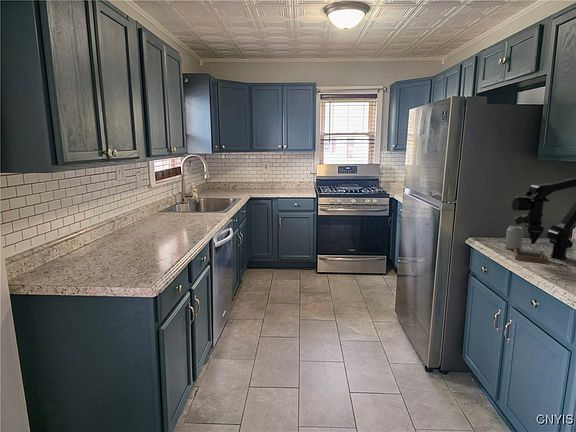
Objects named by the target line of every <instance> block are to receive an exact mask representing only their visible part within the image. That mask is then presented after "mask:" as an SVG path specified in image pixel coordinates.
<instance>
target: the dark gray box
mask: <svg viewBox="0 0 576 432" xmlns="http://www.w3.org/2000/svg"><path fill="white" fill-rule="evenodd" d="M536 250H537V249H527V248H521V249H519V253H518V255H520V256H528V257H536V258H542V256H541V251H542V250H537V251H536Z"/></svg>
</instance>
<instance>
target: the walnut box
mask: <svg viewBox="0 0 576 432" xmlns="http://www.w3.org/2000/svg"><path fill="white" fill-rule="evenodd" d="M535 250H536V251H538V250H537V249H535ZM540 251H541V258H536V257H528V256H520V255H519V248H514V250H513V254H514V259H515V261H516V260H517V261H523V262H524V261H525V262H534V263H540V264H541V263H542V264H547V263H548V258H547V255H546V253H545V252H544V251H543V250H540Z"/></svg>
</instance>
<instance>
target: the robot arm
mask: <svg viewBox="0 0 576 432" xmlns="http://www.w3.org/2000/svg"><path fill="white" fill-rule="evenodd" d="M573 187H575V188H576V176H573V177H569V178H566V179H562V180H556V181H553V182H549V183H534V184H531V185H530V187H529V189H528V190H527V191H526V192H525V193H524V194H523V195H522V196H515V197H514V199H513V200H512V202H511V208H512V210H513V211H514V212H515V211H518V212H519V211H521V212H522V211H525V212H527V213H526V214H522V215H518V216H514V217H513V218H514V222H515V226H519V225H520V224H521V225H522V224H524V226H525V227H526V231H527V233H528V237H529V240H530V243H531V245H535V243H536V242H537V241H538V239H539V238H540V236H541V235H542V234H543V233H544V232H545V231H544V230H545V226H543V222H542V221H543V216H544V205H545V202H546V203H548V202H550V200H549V199H548V198H547V197H548V196H550V195H551V194H553V193H554V192H558V191H561V190H566V189H570V188H573ZM574 225H576V201H575V202H574V204H573V206H572V207H571V208H570V209H569V211H568V212H567V213H566V215H565V216H564V217H563V219H562V220H561V222H560V223H558V224H557V225H556V224H552V225H551V226H550V228H549V229H548V230H547V232H548V233H547V236H546V237H547V240H548V241H549V243H550V244H552V250H551V253H549V256H550V258H552V259H558V260H559V259H560V260H567V261H568V257H567V252H568V249H570V248H572V247H573V245H574V243H573V242H572V241H571V240H570V237H571V232H572V231H571V230H572V228H573V226H574Z"/></svg>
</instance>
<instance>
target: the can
mask: <svg viewBox="0 0 576 432" xmlns="http://www.w3.org/2000/svg"><path fill="white" fill-rule="evenodd" d="M523 238H524V229H523V227H522V226H519V225H509V226H508V228H507V229H506V237H505V244H504V245H505V248H506V249H507V250H510V251H511V250H512V251H514V248H519V249H523V248H522V247H523Z"/></svg>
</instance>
